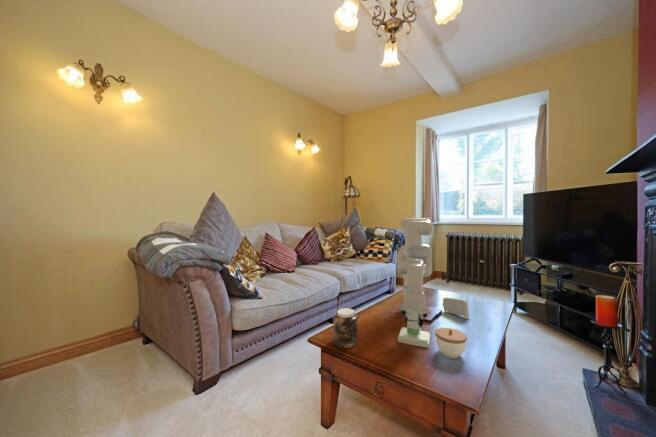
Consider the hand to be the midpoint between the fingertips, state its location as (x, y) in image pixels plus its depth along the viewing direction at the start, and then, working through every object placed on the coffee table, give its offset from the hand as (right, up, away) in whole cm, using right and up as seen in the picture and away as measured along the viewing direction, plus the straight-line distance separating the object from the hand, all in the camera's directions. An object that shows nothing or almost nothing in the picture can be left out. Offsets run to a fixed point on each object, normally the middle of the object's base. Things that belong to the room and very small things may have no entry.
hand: (414, 324), depth 128 cm
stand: (0, -7, 0) cm, 7 cm away
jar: (-34, -8, -2) cm, 35 cm away
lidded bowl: (+12, -8, -13) cm, 19 cm away
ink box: (0, -3, 0) cm, 3 cm away
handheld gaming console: (+36, -7, +31) cm, 48 cm away
